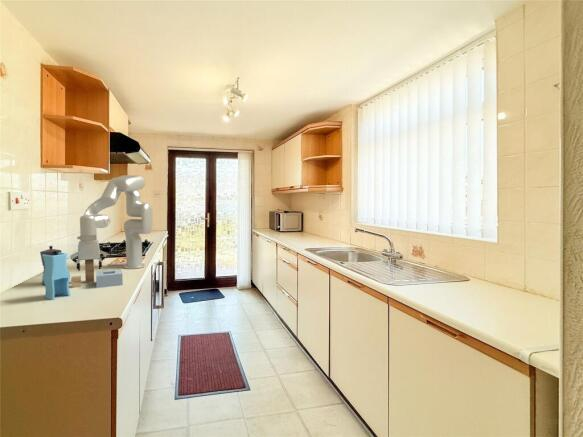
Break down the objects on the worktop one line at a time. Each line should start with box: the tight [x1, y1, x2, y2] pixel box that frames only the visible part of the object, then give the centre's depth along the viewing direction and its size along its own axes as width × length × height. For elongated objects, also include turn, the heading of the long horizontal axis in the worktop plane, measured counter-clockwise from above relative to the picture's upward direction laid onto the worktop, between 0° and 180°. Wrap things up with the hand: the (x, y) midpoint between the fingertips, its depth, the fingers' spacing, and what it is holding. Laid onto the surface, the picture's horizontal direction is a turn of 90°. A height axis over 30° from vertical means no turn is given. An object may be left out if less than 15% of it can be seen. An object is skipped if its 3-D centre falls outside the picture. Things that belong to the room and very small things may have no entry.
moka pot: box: [39, 245, 62, 285], centre depth 181 cm, size 10×15×20 cm, turn 55°
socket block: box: [95, 268, 124, 289], centre depth 182 cm, size 12×12×6 cm
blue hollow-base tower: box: [42, 251, 71, 301], centre depth 158 cm, size 8×8×20 cm
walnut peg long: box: [84, 259, 95, 284], centre depth 185 cm, size 4×4×12 cm
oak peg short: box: [70, 275, 82, 289], centre depth 176 cm, size 4×4×5 cm
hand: (89, 269), depth 185 cm, fingers open, 9 cm apart
